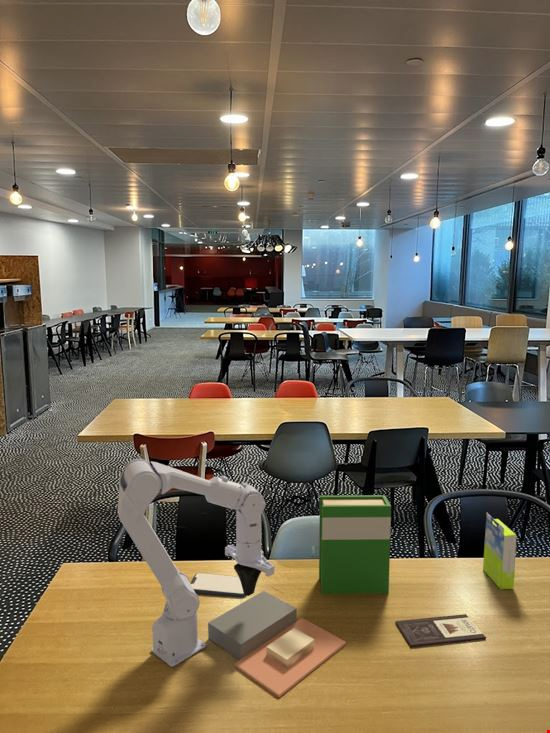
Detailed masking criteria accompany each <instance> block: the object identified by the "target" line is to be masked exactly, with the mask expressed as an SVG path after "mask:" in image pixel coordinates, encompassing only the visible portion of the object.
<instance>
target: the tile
mask: <svg viewBox="0 0 550 733" xmlns="http://www.w3.org/2000/svg"><path fill="white" fill-rule="evenodd" d="M314 641H315V640H314V639H313V638H311V637H309V636H307V635H306V634H304V633H302V632H300V631H299V630H297V629H295V628H293V629H292V630H290V631H289V632H287V633H286V634H284V635H283V636H281V637H280V638H278V639H277V640H275V641H274V642H273V643H271V644H270V645H268V646H267V647H266V655H267V656H268V657H270V658H272V659H273V660H275V661H276V662H278V663H279V664H281V665H282V666H284V667H285V668H288V667H290V666H291V665H292V664H294V663H295V662H296V661H298V660H299V659H300V658H302V657H303V656H304V655H306V654H307V653H308V652H310V651H311V650H312V649H314Z"/></svg>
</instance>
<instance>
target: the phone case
mask: <svg viewBox="0 0 550 733" xmlns="http://www.w3.org/2000/svg"><path fill="white" fill-rule="evenodd" d="M190 584H191V586H192V588H193V590H194V591H195V593H196V594H197V595H203V596H205V595H206V596H216V597H217V596H219V597H229V598H241V599H242V598H244V599H245V598H246V597H248V596H247V595H245V594H244V592H243V588H242V585H241V581H240V579H239V576H238V575H237V576H235V575H225V574H215V573H206V572H205V573H204V572H198V573H195V574H194V576H193V577H192V580H191V581H190Z"/></svg>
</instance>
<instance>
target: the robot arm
mask: <svg viewBox="0 0 550 733" xmlns="http://www.w3.org/2000/svg"><path fill="white" fill-rule="evenodd" d="M118 478H119V479H118V483H119V484H118V487H119V489H118V501H117V515H118V518H119V521H120V522H121V524H122V525H123V527H124V529H125V530H126V532H127V534H128V535H129V537H130V538H131V540H132V541H133V543H134V544H135V546H136V548H137V550H138V551H139V553H140V554H141V556H142V558H143V559H144V561H145V562H146V563H147V566H148V567H149V568H150V571H151V572H152V573H153V575H154V577H155V578H156V580H157V581H158V583H159V585H160V586H161V592H162V594H163V596H164V598H165V600H166V601H165V605H164V608H163V612H162V614H161V615H160V616H159V618H157V619H156V620H155V621H153V624H152V628H151V629H152V647H151V649H150V651H151V652H152V653H153V654H154V655H155V656H157V657H158V658H159V659H161V660H162V661H163V662H164V663H166V664H167V665H168V666H170V667H172V668H174V667H175V666H176V665H178V664H180V663H182V662H183V661H185V660H186V659H187V660H188V658H190V657H192V656H193V655H195V654H196V653H198V652H199V651H201V650H203V649H205V648H206V647H207V644H206V643H205V642H204V641H202V640H201V639H200V638H198V636H199V635H198V634H199V633H198V629H199V628H198V610H199V607H200V597H199V595H198V594H196V593H195V591H194V590H193V588H192V586H191V584H190V583H191V581H190V579H189V577H188V576H187V574H185V573H184V572H182V571H180V570H179V569H178V567H177V566H176V565H175V563H174V561H173V560H172V559H171V557H170V555H169V553H168V552H167V549H166V548H165V546H164V545H163V543H162V542H161V540H160V538H159V537H158V535H157V533H156V532H155V530H154V528H153V527H152V525H151V524H150V522H149V520H148V519H147V517H146V516H145V513H146V511H147V509H148V506H150V504H151V503H152V502H153V501H154V499H155V498H156V496H158V494H159V493H160V494H161V495H164V494H167V492H168V491H170V490H172V489H177V490H181V491H187V492H190V493H195V494H197V495H202V496H204V497H205V499H206V501H207V503H211V504H213V505H217V506H221V507H224V508H227V509H231V510H236V513H235V514H236V515H235V517H236V519H235V520H236V521H235V523H236V524H235V526H236V527H235V528H236V533H235V534H236V535H235V537H236V538H235V539H236V542H235V543H236V544H235V545H236V546H235V545H233V544H230V545H227V546H225V547H224V555H225V557H230V556H231V557H232V558H233V559H234V560H235V562H236V564H234V565H233V570H234V571H235V572H236V574H237V576H238V577H239V579H240V581H241V585H242V588H243V592H244V594H245V595H247V596H246V597H250V596H252V595H254V594H255V590H256V586H257V583H258V580H259V577H260V575H261V573H264V574H265V576H266V577H271V576H273V575H274V574H275V565H274V564H272V563H271V562H270V561H269V560H268V559H267V558H266V557H265V556H264V551H263V550H262V513H263V512H264V510H265V508H266V504H267V503H266V502H265V499H264V496H263V494H262V493H260V492H259V490H257V489H256V488H255V487H254V486H252V485H251V484H249V483H248V482H240V483H238V482H234V481H232V480H229V477H227V476H225V475H221V477H220V476H219V477H218V476H213V477H212V478H210V479H205V478H203V477H200V476H197V475H194V474H193V473H192V474H191V473H189V472H186V471H183V470H180V469H177V468H174V467H173V466H169V465H165V464H164V463H159V462H157V461H150V462H149V461H148V460H147V459H143V458H136V459H132V460H130V461H128V462H127V463H126V465H125V466H124V468H123V470H122V472H121V474H120V476H119V477H118Z"/></svg>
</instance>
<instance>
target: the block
mask: <svg viewBox="0 0 550 733" xmlns="http://www.w3.org/2000/svg"><path fill="white" fill-rule="evenodd" d="M297 610H298V609H297V608H296V606H293V605H292V604H289V603H287V602H286V601H284V600H282V599H281V598H279V597H277V596H275V595H273V594H271V593H270V592H267V591H265V590H263V591H261V592H259V593H257V594H256V595H255V594H254V595H253V596H252V597H250V598H248V599H246V600H245V601H244V602H242V603H240V604H238V605H236V606H234V607H233V608H231V609H230V610H228V611H226V612H224V613H222V614H221V615H219V616H217V617H216V618H213V619H212V620H210V621H209V622H207V629H208V631H207V635H208V636H207V638H208V640H210V641H211V642H212V643H214V644H215V645H216V646H218V647H220V648H221V649H222V648H223V649H222V650H224V651H225V650H226V651H225V652H227V653H228V654H230V655H231V656H233V657H235V659H237V661H239V660H240V659H242V658H243V657H245V656H246V655H248V654H249V653H251V652H252V651H254V650H255V649H257V648H258V647H260V646H261V645H263V644H264V643H266V642H267V641H268V640H270V639H271V638H273V637H274V636H276V635H277V634H279V633H280V632H282V631H283V630H285V629H286V628H288V627H289V626H291V625H292V624H294V623H295V622H297V621H298V620H297V618H298V616H297V615H298V613H297V612H298V611H297Z"/></svg>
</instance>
